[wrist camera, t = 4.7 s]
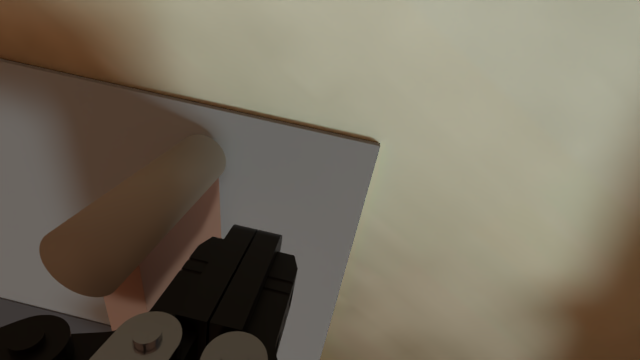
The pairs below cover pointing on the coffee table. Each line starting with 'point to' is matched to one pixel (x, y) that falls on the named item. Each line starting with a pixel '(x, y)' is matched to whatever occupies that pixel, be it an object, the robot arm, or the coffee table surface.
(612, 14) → the coffee table surface
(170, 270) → the panel
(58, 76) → the card
